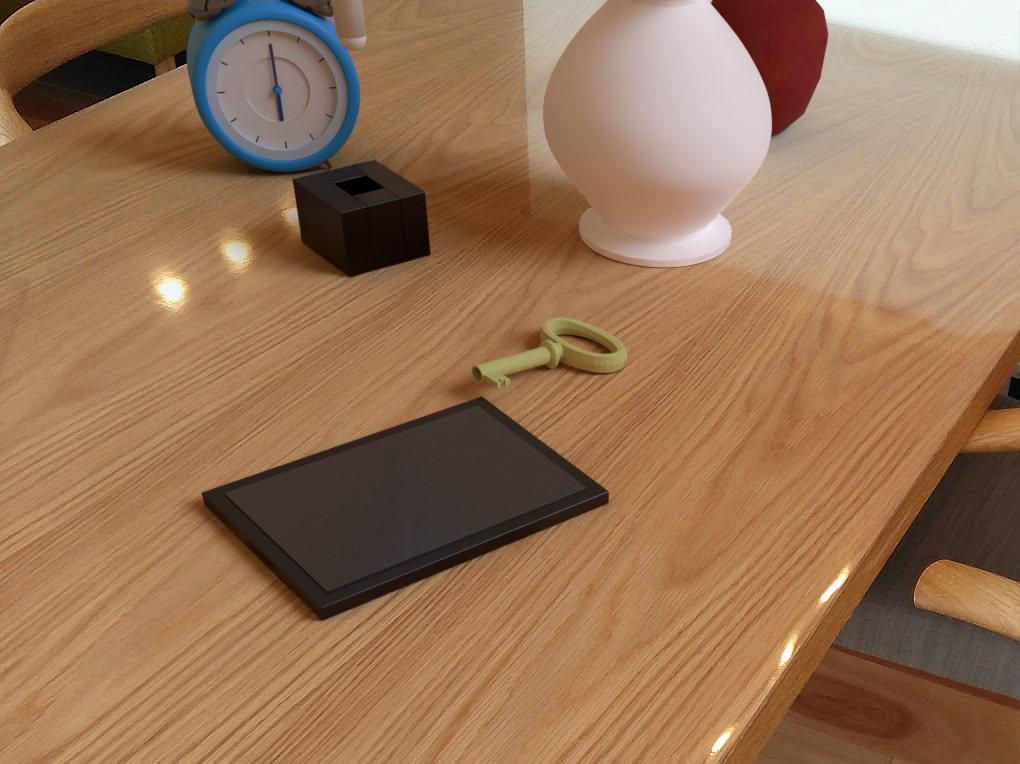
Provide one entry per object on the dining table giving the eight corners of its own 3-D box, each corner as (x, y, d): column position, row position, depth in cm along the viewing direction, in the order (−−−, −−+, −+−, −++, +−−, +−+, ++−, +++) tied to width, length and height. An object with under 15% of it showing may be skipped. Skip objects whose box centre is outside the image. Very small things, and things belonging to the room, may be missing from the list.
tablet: (322, 621, 81) (319, 606, 80) (203, 504, 88) (200, 490, 87) (609, 503, 91) (609, 489, 90) (482, 407, 98) (481, 394, 97)
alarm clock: (209, 181, 120) (171, -16, 110) (203, 152, 124) (166, -41, 114) (370, 171, 124) (348, -21, 114) (358, 143, 128) (336, -45, 118)
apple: (735, 95, 144) (744, -54, 134) (840, 123, 140) (856, -28, 131) (673, 131, 136) (678, -25, 127) (783, 162, 132) (796, 4, 123)
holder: (349, 277, 110) (341, 212, 106) (301, 242, 114) (291, 178, 110) (431, 254, 114) (425, 191, 110) (382, 221, 117) (375, 159, 114)
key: (466, 396, 99) (464, 367, 97) (559, 325, 107) (558, 297, 106) (557, 426, 97) (557, 397, 96) (645, 351, 105) (645, 324, 104)
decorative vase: (536, 189, 124) (525, -148, 107) (740, 187, 127) (761, -139, 110) (558, 285, 112) (549, -79, 94) (783, 280, 115) (814, -71, 98)
